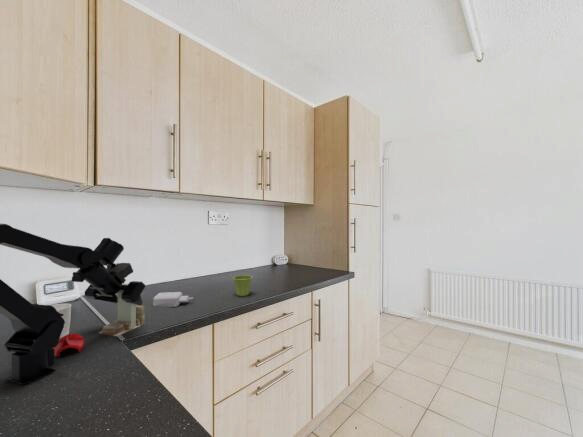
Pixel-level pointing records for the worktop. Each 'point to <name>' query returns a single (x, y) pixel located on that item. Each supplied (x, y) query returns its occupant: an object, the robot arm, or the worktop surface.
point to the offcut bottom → (113, 331)
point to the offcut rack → (139, 320)
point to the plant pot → (242, 284)
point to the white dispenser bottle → (170, 299)
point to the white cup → (64, 316)
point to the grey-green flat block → (126, 311)
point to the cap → (69, 343)
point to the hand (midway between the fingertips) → (130, 302)
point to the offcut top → (113, 326)
